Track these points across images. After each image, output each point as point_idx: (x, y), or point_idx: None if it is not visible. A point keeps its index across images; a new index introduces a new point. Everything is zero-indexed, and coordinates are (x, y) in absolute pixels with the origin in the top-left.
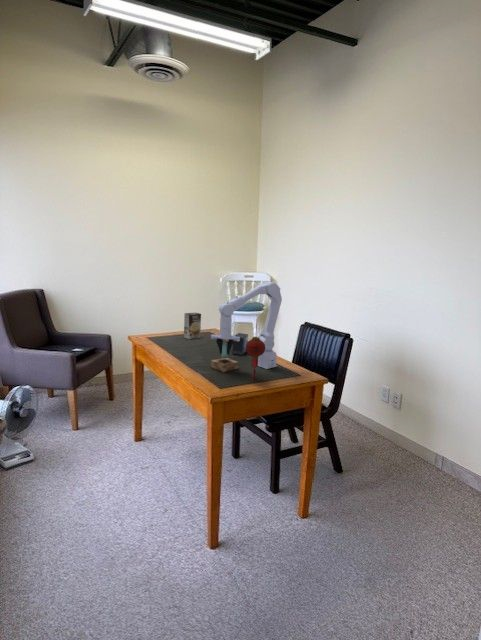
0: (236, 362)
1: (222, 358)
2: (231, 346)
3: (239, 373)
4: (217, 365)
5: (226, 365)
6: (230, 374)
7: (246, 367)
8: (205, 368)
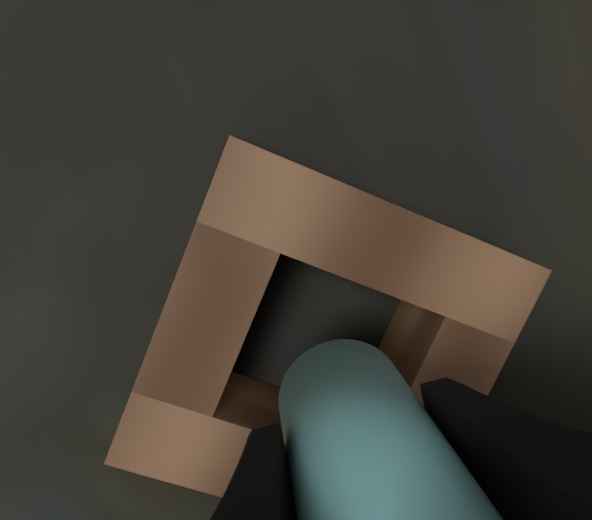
0: (529, 308)
1: (215, 245)
2: (586, 434)
3: (577, 412)
4: None
5: None
6: None
7: (583, 130)
8: (105, 491)
